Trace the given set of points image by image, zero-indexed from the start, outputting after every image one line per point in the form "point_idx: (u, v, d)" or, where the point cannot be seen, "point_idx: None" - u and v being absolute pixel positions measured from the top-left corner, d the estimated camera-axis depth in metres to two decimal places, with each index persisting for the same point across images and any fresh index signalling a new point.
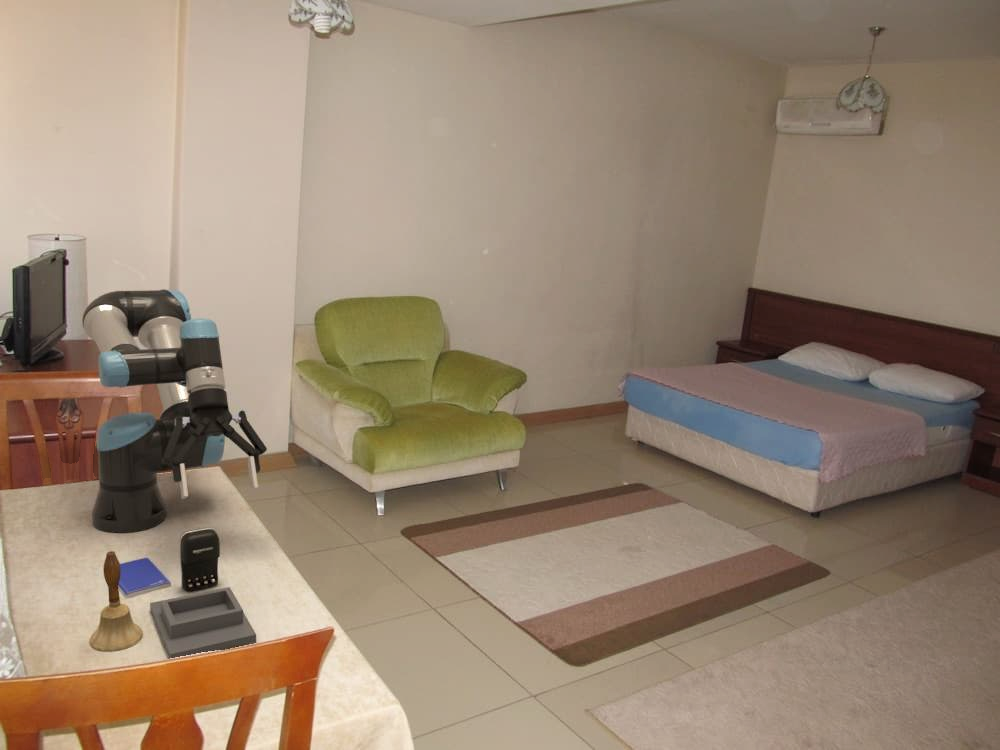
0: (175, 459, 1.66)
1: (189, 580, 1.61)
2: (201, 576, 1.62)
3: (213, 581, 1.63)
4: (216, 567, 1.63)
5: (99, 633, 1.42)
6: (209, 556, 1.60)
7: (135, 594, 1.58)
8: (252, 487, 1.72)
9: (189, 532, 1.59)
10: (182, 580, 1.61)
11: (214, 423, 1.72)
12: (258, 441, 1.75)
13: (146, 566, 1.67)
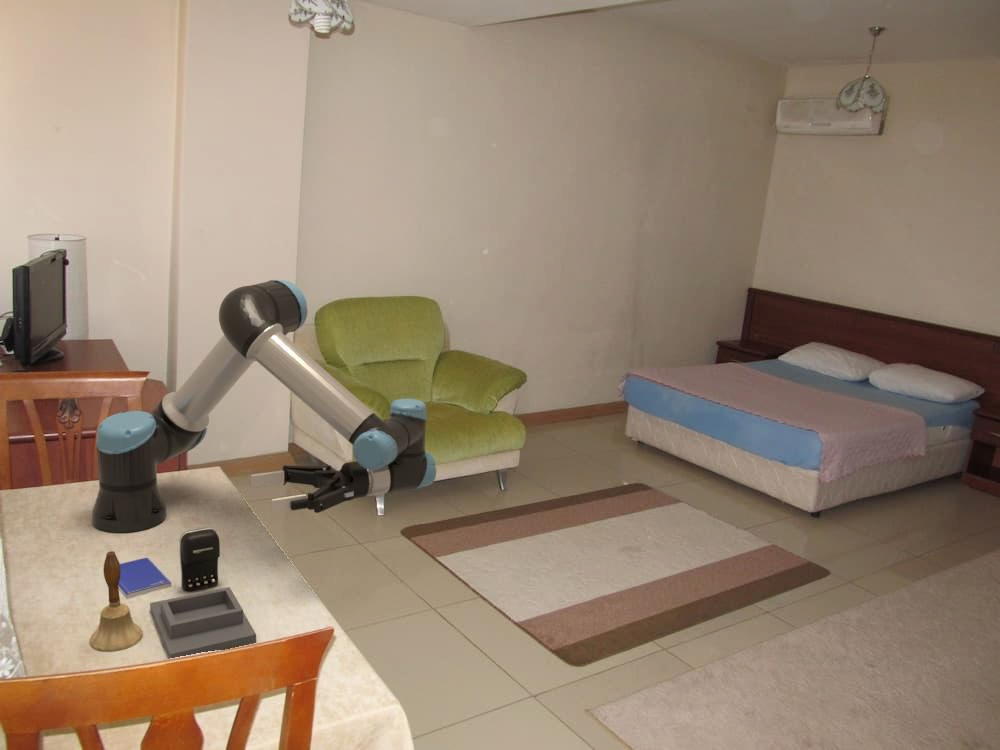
0: None
1: (189, 580, 1.61)
2: (201, 576, 1.62)
3: (213, 581, 1.63)
4: (216, 567, 1.63)
5: (99, 633, 1.42)
6: (209, 556, 1.60)
7: (135, 594, 1.58)
8: (253, 481, 1.70)
9: (189, 532, 1.59)
10: (182, 580, 1.61)
11: None
12: None
13: (146, 566, 1.67)
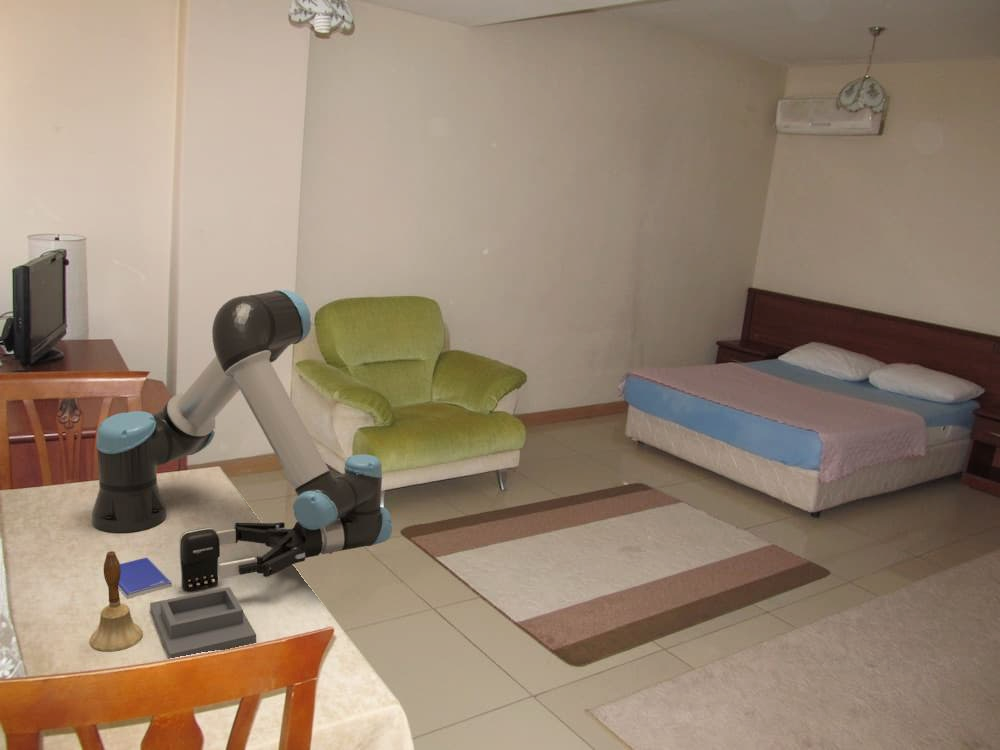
0: None
1: (189, 580, 1.61)
2: (201, 576, 1.62)
3: (213, 581, 1.63)
4: (216, 567, 1.63)
5: (99, 633, 1.42)
6: (209, 556, 1.60)
7: (136, 594, 1.58)
8: None
9: (189, 532, 1.59)
10: (182, 580, 1.61)
11: None
12: None
13: (146, 566, 1.67)
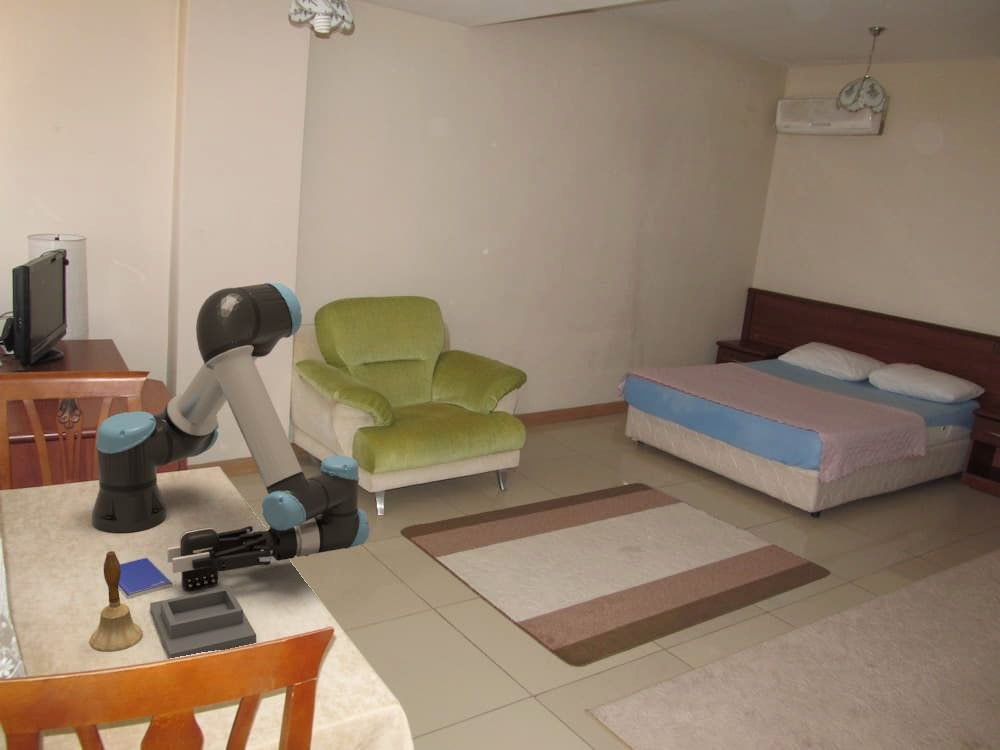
0: None
1: (189, 580, 1.61)
2: (201, 576, 1.62)
3: (213, 581, 1.63)
4: None
5: (99, 633, 1.42)
6: None
7: (137, 595, 1.58)
8: (170, 555, 1.60)
9: (189, 532, 1.59)
10: (182, 580, 1.61)
11: None
12: None
13: (146, 566, 1.67)
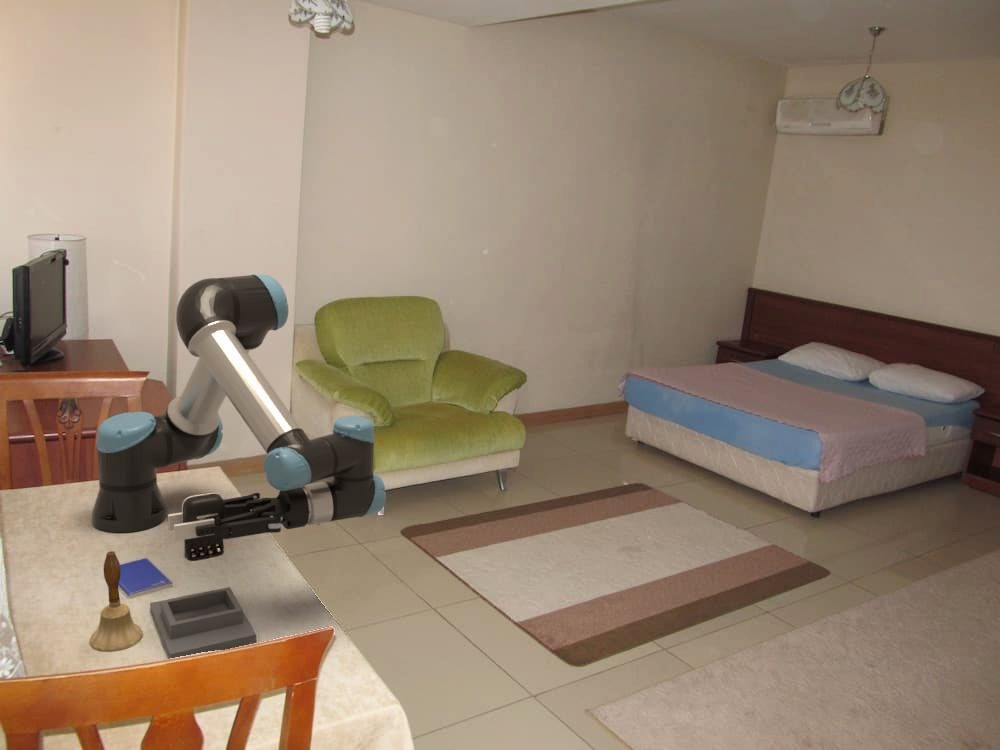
0: None
1: (192, 549, 1.48)
2: (205, 545, 1.49)
3: (218, 551, 1.50)
4: (221, 535, 1.50)
5: (99, 633, 1.42)
6: None
7: (137, 595, 1.57)
8: (171, 522, 1.46)
9: (192, 497, 1.46)
10: (185, 549, 1.48)
11: None
12: None
13: (146, 566, 1.67)
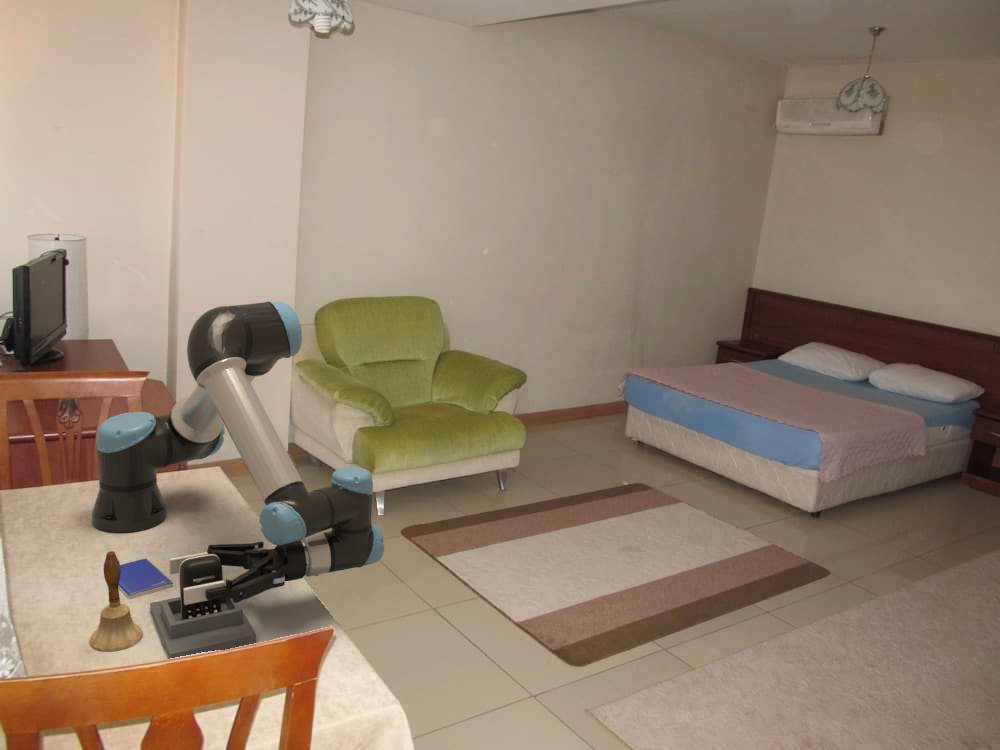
0: None
1: (189, 611, 1.48)
2: (202, 607, 1.49)
3: (215, 612, 1.49)
4: None
5: (99, 633, 1.42)
6: None
7: (138, 595, 1.57)
8: (172, 566, 1.50)
9: (189, 559, 1.46)
10: (182, 611, 1.47)
11: None
12: None
13: (146, 566, 1.67)
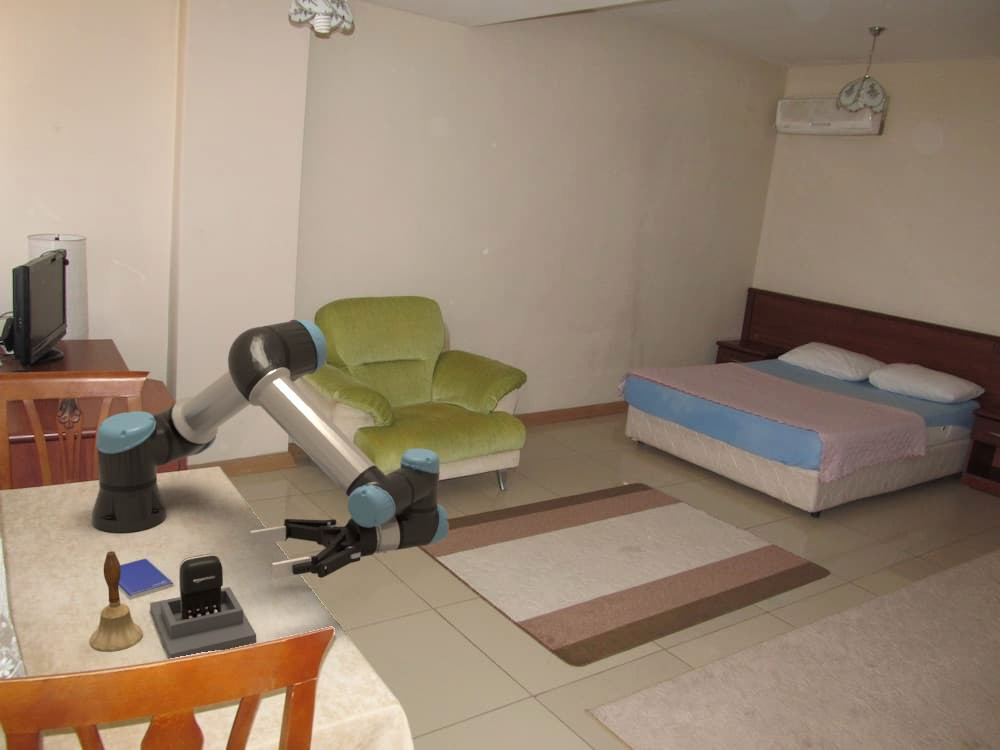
0: None
1: (189, 611, 1.48)
2: (202, 607, 1.49)
3: (215, 612, 1.49)
4: (219, 597, 1.50)
5: (99, 633, 1.42)
6: (211, 585, 1.46)
7: (138, 595, 1.57)
8: (253, 538, 1.57)
9: (189, 559, 1.46)
10: (182, 611, 1.47)
11: None
12: None
13: (146, 567, 1.67)
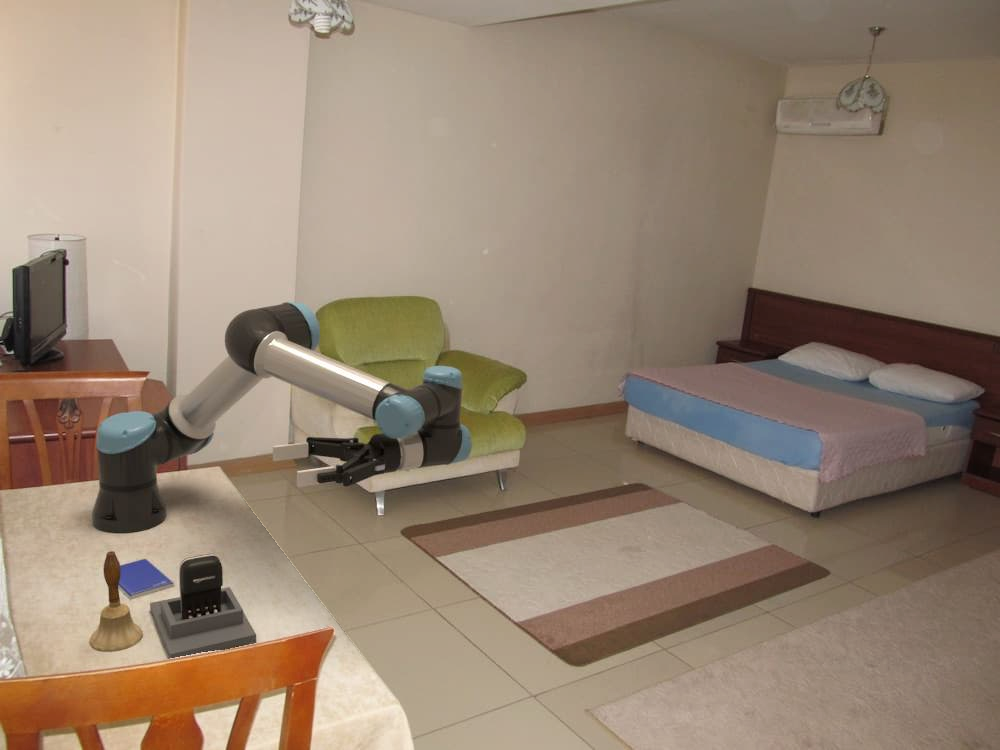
0: None
1: (189, 611, 1.48)
2: (202, 607, 1.49)
3: (215, 612, 1.49)
4: (219, 597, 1.50)
5: (99, 633, 1.42)
6: (211, 585, 1.46)
7: (139, 595, 1.57)
8: (275, 453, 1.56)
9: (189, 559, 1.46)
10: (182, 611, 1.47)
11: None
12: None
13: (146, 567, 1.66)
